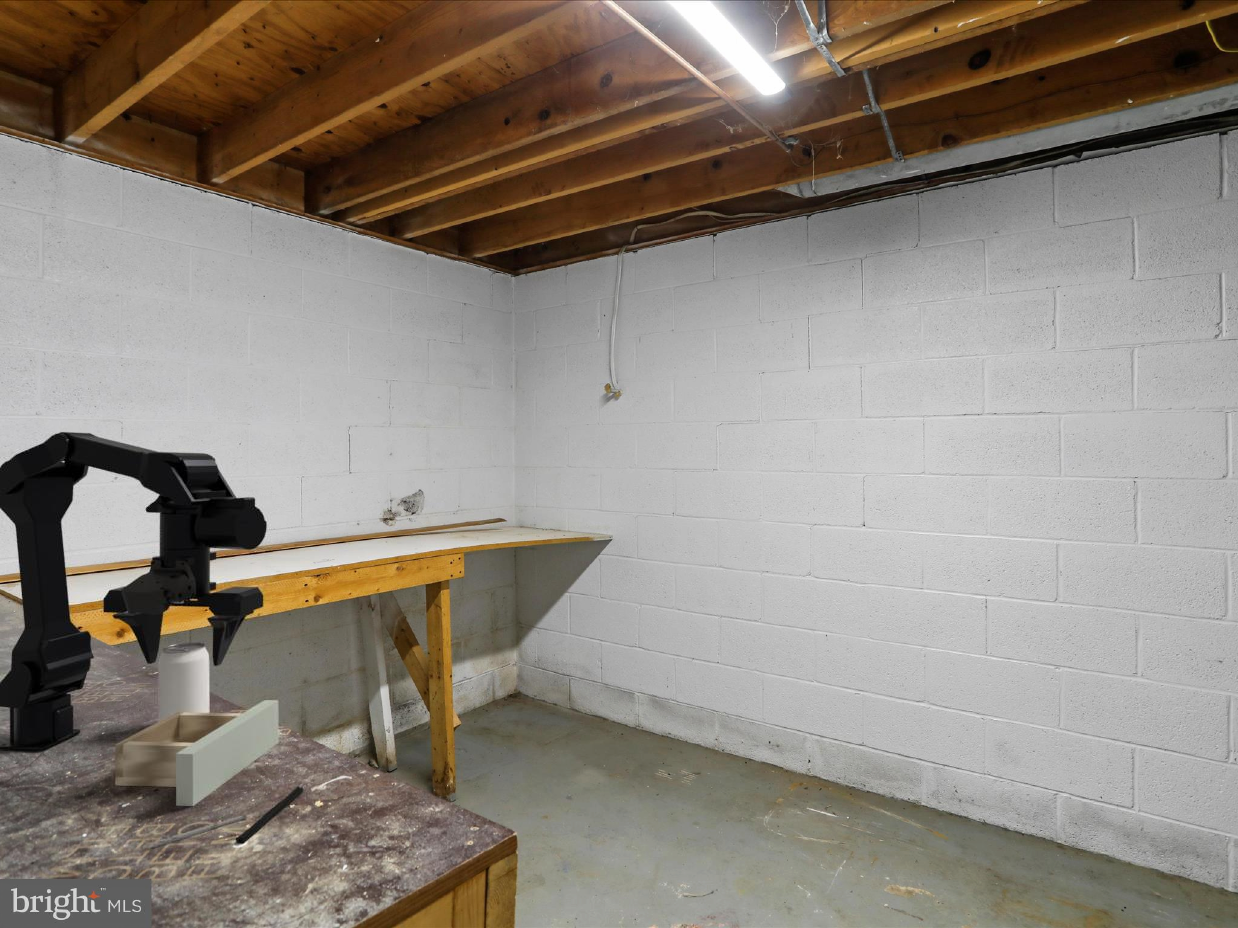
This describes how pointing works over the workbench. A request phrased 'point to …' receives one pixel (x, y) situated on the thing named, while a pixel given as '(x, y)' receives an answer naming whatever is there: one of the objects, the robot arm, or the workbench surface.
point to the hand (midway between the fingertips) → (184, 664)
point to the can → (183, 679)
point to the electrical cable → (269, 815)
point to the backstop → (225, 752)
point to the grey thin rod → (198, 831)
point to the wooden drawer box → (162, 748)
